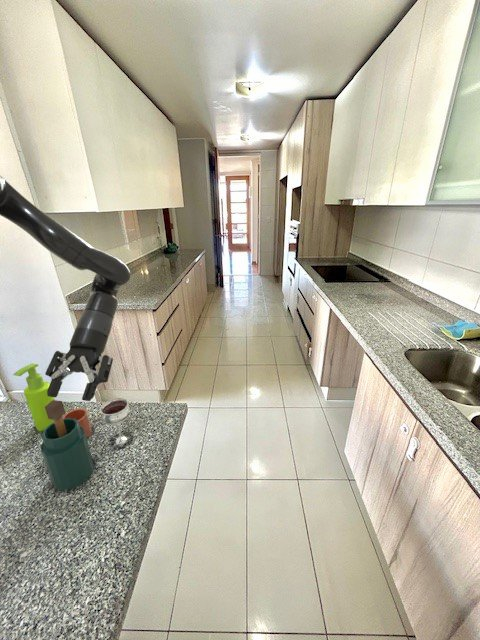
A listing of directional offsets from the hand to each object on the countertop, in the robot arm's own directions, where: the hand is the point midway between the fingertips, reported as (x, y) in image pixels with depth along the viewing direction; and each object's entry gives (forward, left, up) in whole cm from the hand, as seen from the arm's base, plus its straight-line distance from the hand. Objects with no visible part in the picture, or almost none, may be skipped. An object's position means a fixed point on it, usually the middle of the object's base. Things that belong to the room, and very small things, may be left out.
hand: (68, 398), depth 58 cm
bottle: (0, -4, -19) cm, 19 cm away
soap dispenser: (-19, +9, -19) cm, 28 cm away
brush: (0, -4, -18) cm, 19 cm away
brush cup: (-7, +7, -19) cm, 21 cm away
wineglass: (+6, +7, -19) cm, 21 cm away
